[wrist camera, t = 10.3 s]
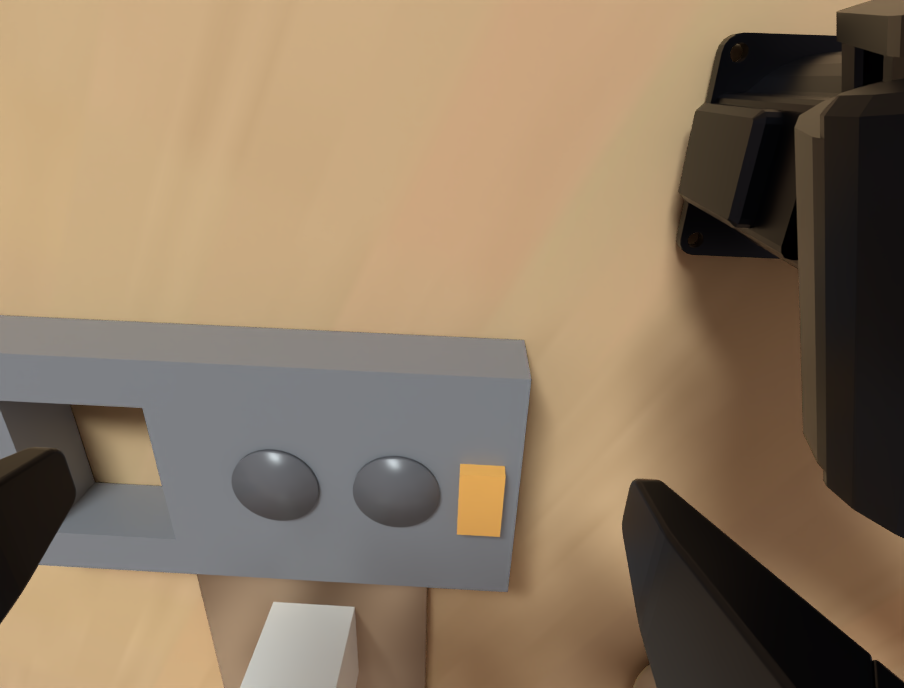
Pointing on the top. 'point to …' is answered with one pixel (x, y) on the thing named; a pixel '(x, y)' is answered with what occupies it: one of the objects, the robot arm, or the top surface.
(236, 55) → the top surface
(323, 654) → the plug
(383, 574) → the power strip
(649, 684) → the plastic bottle
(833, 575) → the top surface
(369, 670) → the pad
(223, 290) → the top surface
